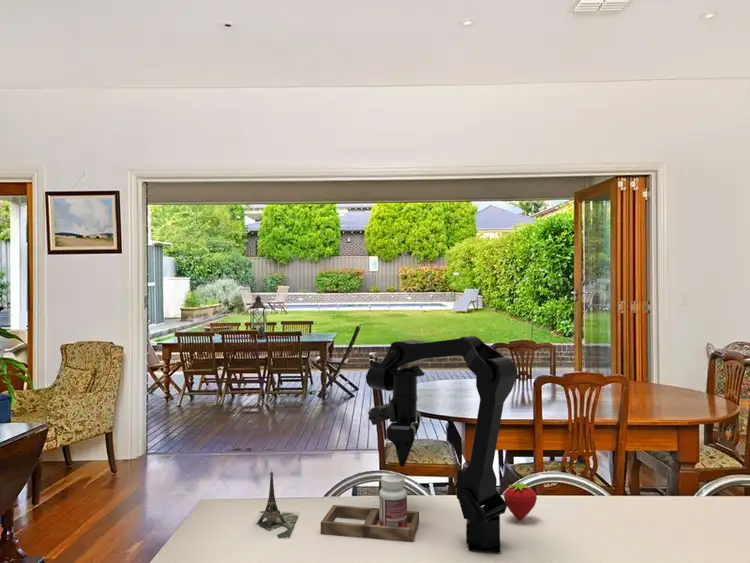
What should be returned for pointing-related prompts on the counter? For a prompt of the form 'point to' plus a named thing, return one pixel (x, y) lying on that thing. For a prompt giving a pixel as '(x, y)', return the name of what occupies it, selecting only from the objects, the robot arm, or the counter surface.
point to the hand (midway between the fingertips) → (404, 459)
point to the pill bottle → (393, 501)
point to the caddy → (367, 524)
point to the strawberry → (520, 500)
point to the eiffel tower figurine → (276, 516)
